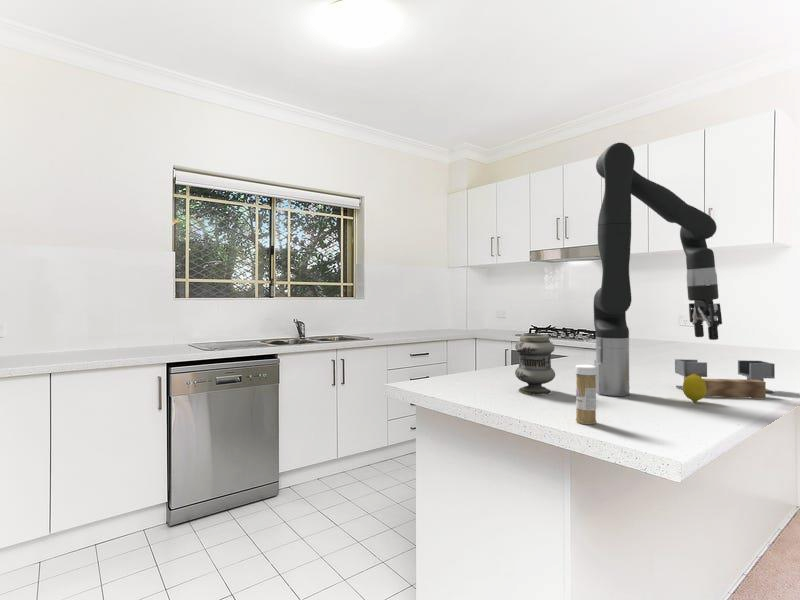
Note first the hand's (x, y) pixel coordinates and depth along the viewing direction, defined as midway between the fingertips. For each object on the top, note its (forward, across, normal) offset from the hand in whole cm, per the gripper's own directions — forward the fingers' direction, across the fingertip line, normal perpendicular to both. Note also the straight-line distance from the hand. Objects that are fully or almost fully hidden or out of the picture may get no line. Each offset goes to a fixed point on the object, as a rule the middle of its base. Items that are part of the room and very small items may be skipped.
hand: (706, 338), depth 133 cm
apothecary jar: (+14, +2, -50) cm, 52 cm away
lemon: (+17, +10, -8) cm, 21 cm away
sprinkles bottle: (+15, +36, -42) cm, 57 cm away
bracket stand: (+18, -9, +8) cm, 21 cm away
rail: (+18, 0, +4) cm, 18 cm away
